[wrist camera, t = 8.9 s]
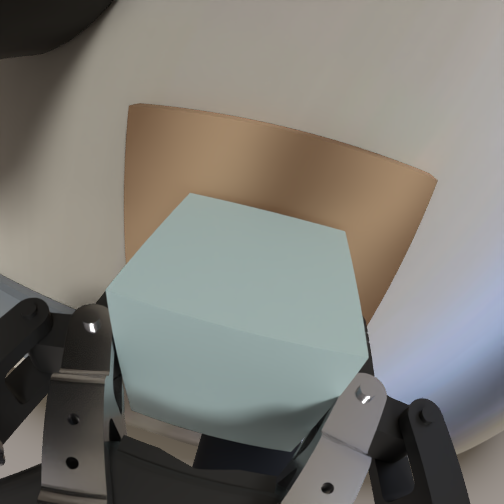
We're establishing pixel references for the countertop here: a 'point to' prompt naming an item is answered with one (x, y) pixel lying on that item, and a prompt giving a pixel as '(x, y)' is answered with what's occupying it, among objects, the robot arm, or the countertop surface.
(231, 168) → the coaster
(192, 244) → the letter cube
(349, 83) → the countertop surface
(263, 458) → the wine bottle
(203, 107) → the countertop surface
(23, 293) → the grey angle bar
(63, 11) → the mug
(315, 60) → the countertop surface
